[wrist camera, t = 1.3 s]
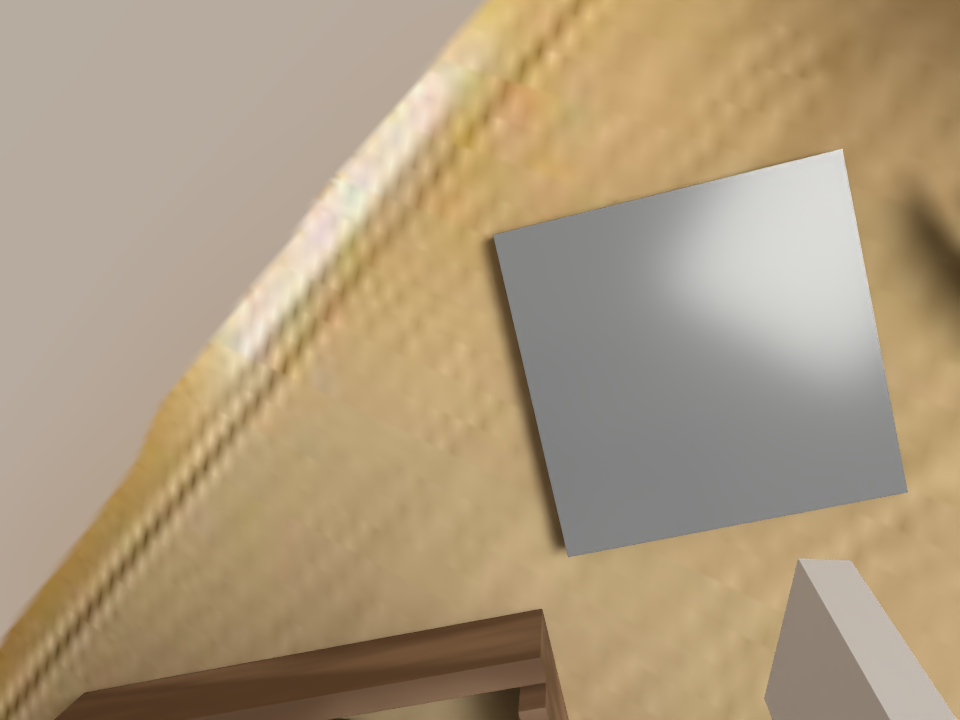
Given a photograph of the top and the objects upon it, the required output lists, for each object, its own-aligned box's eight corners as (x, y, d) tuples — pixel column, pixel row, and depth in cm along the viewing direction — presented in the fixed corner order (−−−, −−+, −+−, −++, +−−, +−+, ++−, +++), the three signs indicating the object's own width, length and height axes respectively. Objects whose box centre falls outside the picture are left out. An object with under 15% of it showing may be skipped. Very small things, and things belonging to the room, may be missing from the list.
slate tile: (893, 483, 37) (907, 492, 35) (567, 546, 39) (568, 557, 37) (830, 154, 35) (842, 148, 34) (495, 236, 37) (492, 234, 36)
